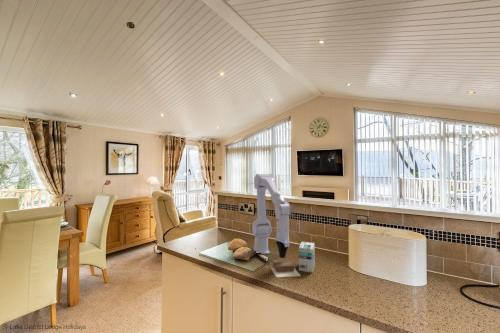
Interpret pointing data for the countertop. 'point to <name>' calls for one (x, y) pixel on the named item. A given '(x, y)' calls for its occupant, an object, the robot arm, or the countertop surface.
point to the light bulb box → (306, 256)
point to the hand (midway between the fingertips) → (282, 257)
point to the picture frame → (283, 265)
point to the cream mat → (285, 273)
